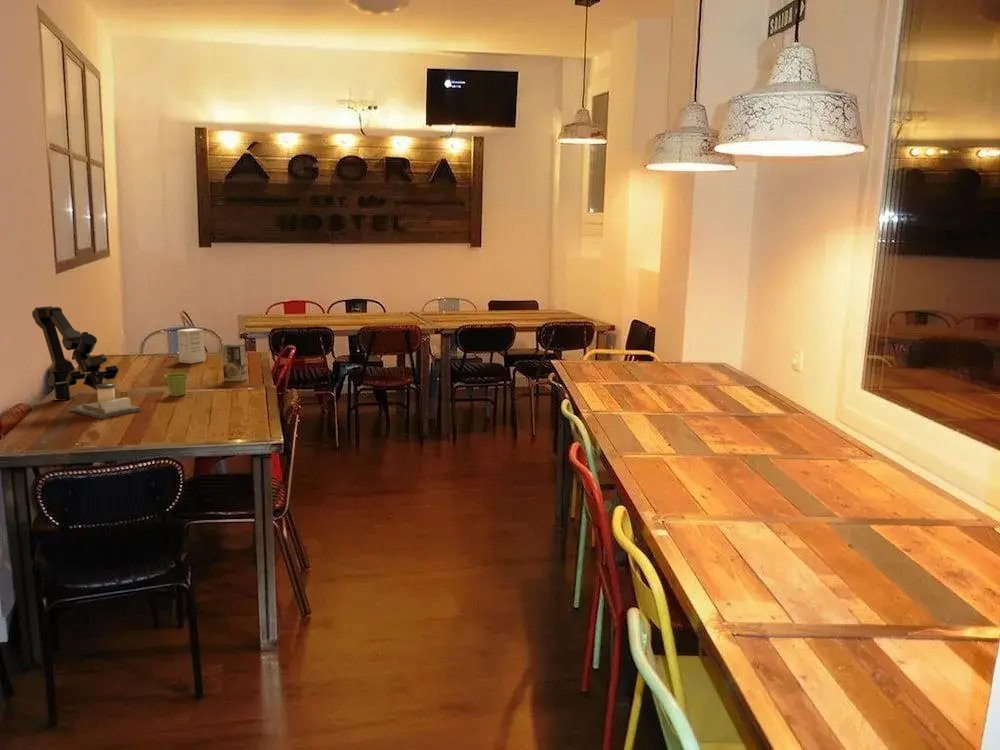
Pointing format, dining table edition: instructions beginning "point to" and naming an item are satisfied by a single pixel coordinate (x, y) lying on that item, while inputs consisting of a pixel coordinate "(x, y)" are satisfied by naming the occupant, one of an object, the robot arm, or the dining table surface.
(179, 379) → the plant pot
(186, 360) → the supplement box
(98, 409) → the knob mount
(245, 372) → the coffee box
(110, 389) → the knob
